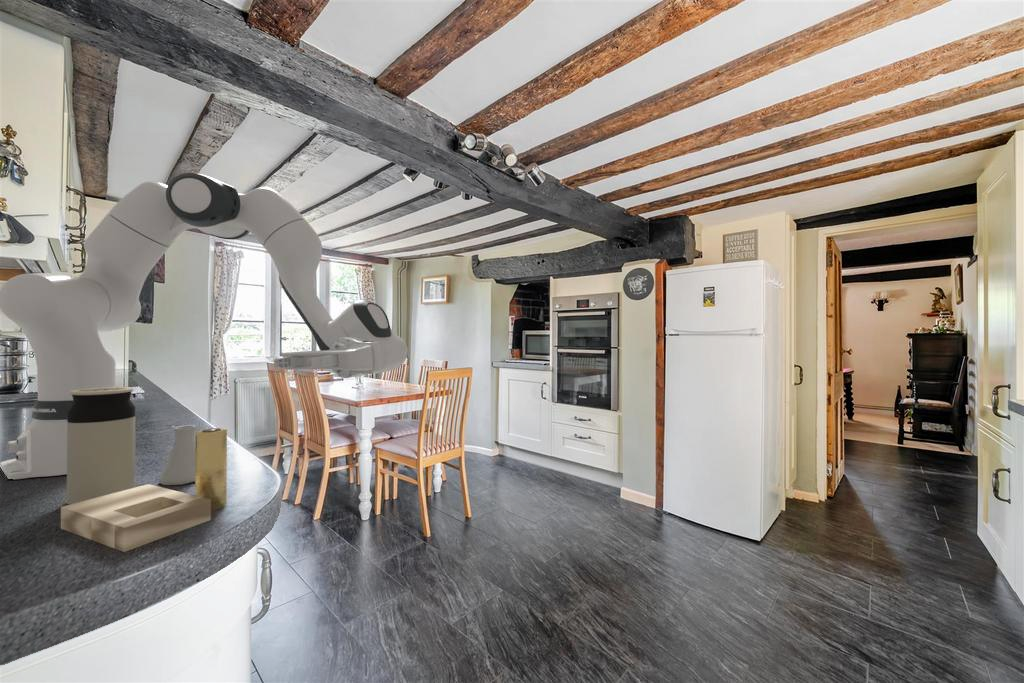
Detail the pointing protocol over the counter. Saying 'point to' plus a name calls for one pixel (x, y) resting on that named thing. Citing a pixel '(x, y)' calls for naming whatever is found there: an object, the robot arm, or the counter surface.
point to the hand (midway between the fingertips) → (292, 363)
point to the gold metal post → (211, 466)
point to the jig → (135, 516)
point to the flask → (181, 458)
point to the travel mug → (100, 443)
